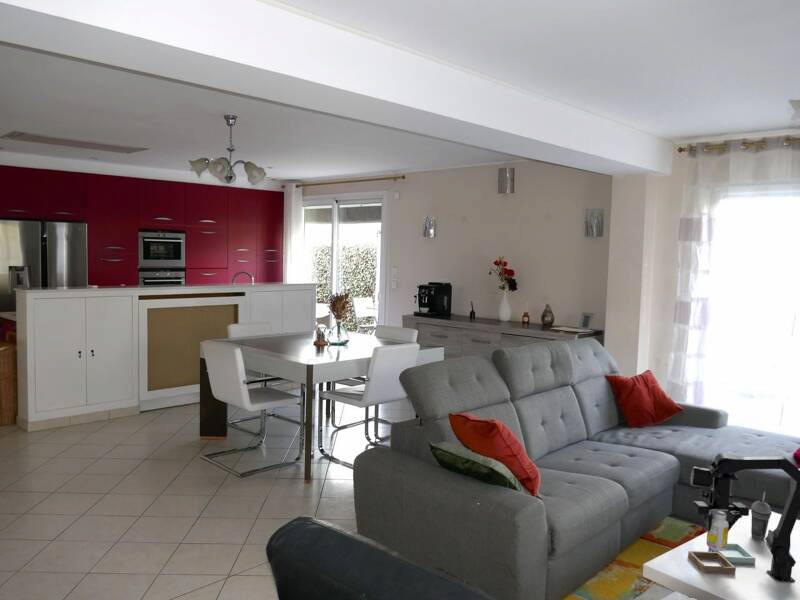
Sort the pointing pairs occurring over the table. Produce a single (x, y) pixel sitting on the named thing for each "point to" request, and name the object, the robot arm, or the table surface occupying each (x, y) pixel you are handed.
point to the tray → (736, 554)
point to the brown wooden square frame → (728, 568)
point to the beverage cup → (760, 519)
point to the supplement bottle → (718, 532)
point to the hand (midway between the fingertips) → (717, 531)
